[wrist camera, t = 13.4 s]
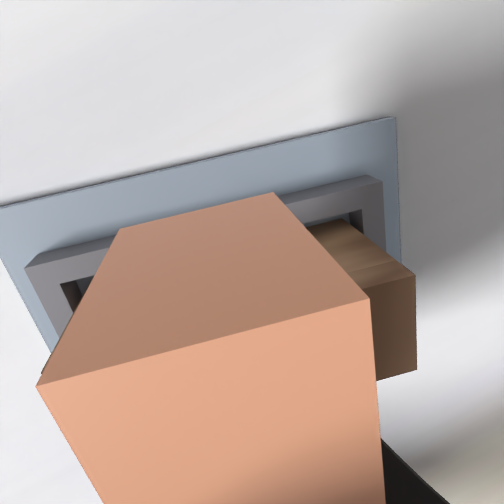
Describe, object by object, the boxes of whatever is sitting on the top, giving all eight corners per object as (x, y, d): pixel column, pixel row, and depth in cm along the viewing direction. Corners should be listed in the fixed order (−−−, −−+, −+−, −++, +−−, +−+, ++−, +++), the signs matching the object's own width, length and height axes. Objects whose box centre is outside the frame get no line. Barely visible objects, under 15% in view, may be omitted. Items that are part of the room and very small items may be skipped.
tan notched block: (342, 218, 18) (415, 274, 12) (349, 289, 19) (417, 369, 13) (90, 280, 17) (40, 372, 11) (120, 349, 18) (90, 461, 13)
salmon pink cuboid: (119, 229, 8) (35, 386, 4) (273, 191, 9) (370, 298, 4) (233, 536, 13) (257, 768, 9) (329, 507, 13) (402, 718, 9)
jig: (398, 330, 22) (418, 353, 20) (91, 414, 20) (80, 447, 18) (389, 116, 17) (414, 119, 15) (-16, 210, 15) (-44, 225, 14)
